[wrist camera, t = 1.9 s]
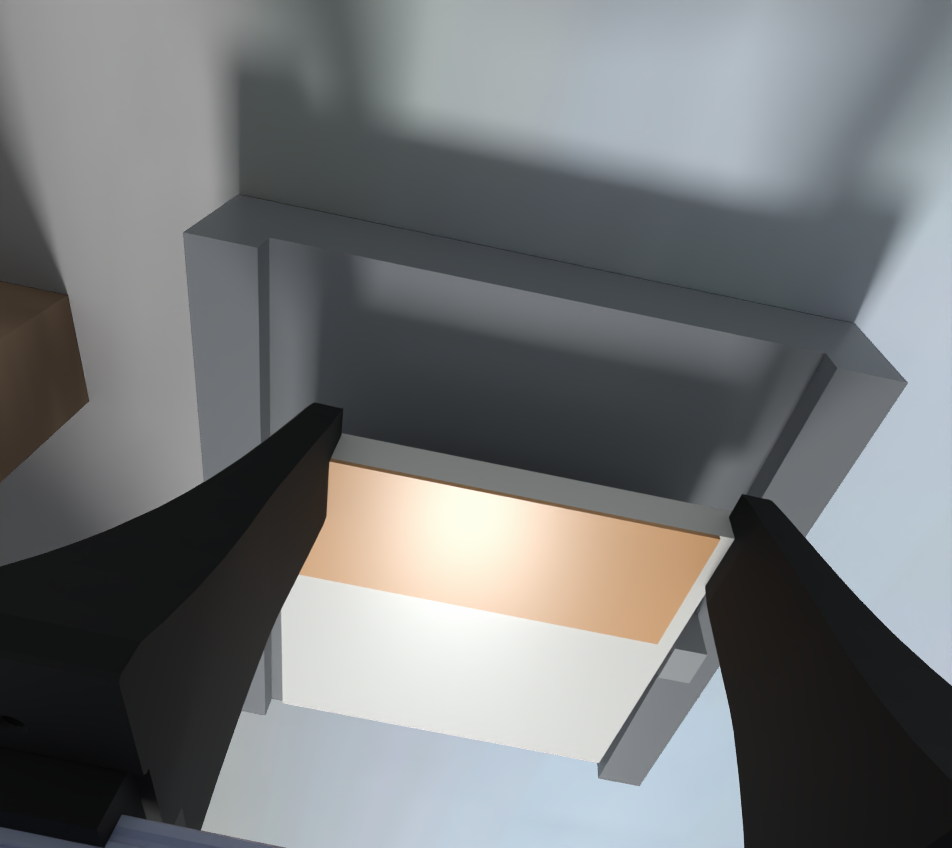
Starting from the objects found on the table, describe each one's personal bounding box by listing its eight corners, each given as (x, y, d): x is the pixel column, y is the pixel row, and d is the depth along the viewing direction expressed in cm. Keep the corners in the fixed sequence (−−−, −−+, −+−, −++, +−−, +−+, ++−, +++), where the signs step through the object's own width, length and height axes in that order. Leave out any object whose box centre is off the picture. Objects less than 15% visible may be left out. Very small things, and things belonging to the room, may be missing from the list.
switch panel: (631, 713, 24) (643, 824, 21) (252, 640, 23) (206, 743, 20) (855, 323, 14) (938, 417, 11) (238, 194, 14) (150, 254, 11)
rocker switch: (597, 735, 19) (599, 766, 18) (291, 677, 19) (281, 706, 18) (730, 511, 13) (740, 543, 13) (292, 423, 13) (276, 451, 12)
